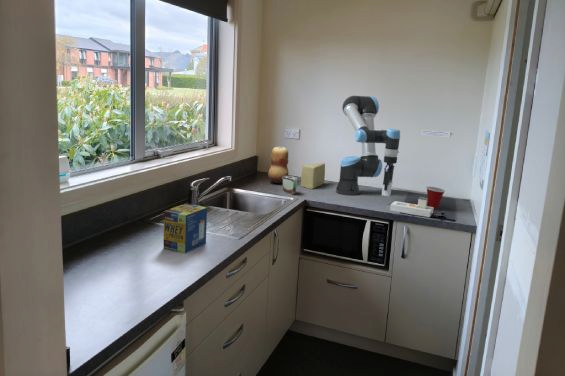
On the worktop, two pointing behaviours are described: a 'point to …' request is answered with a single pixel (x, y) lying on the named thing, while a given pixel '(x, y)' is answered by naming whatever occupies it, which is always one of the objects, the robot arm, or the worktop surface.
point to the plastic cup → (434, 196)
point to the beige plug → (422, 202)
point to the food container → (289, 184)
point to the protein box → (185, 227)
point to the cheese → (313, 175)
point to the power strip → (412, 209)
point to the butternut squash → (278, 164)
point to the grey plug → (388, 189)
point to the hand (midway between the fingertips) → (386, 194)
